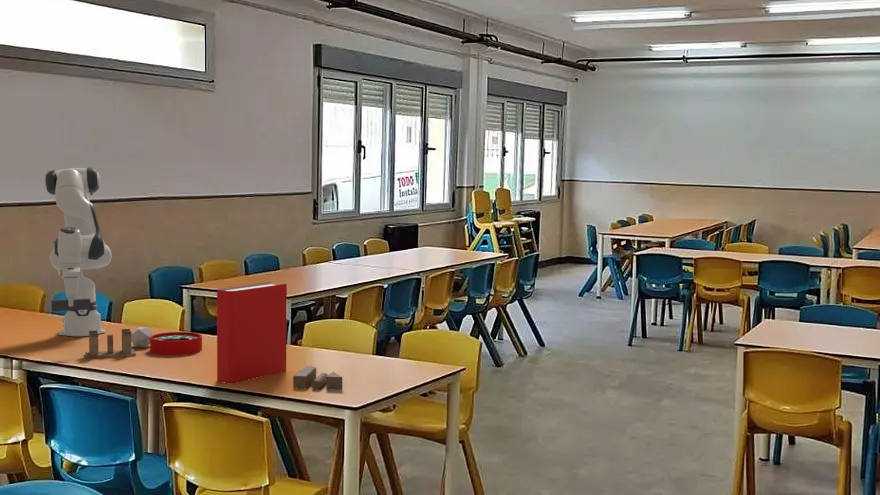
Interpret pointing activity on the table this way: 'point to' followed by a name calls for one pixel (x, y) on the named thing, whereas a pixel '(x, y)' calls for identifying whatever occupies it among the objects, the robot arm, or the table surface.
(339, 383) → the wooden block set
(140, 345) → the die
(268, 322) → the book
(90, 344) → the stand
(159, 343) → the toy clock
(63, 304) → the frame bar
